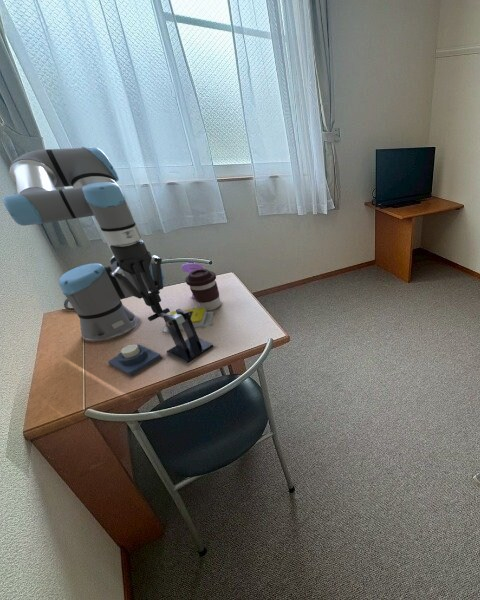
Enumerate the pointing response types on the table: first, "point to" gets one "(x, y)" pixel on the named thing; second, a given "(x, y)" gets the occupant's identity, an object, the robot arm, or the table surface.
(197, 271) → the coffee cup
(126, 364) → the button block
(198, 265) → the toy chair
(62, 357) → the table surface
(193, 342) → the stand
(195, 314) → the yellow grey flat box
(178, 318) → the lever
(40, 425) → the table surface
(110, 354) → the table surface
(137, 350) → the button
